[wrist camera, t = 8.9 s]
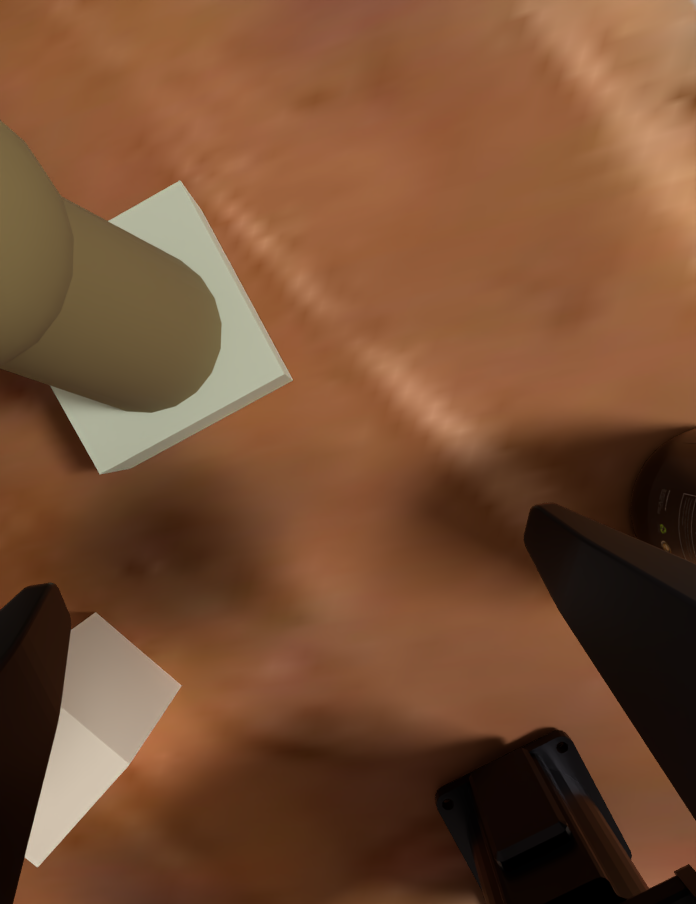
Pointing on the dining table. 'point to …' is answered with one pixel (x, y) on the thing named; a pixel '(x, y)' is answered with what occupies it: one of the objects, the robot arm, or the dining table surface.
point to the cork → (95, 299)
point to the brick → (96, 727)
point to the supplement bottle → (668, 498)
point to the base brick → (236, 369)
